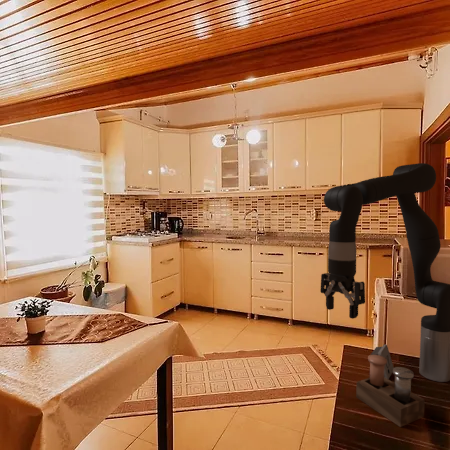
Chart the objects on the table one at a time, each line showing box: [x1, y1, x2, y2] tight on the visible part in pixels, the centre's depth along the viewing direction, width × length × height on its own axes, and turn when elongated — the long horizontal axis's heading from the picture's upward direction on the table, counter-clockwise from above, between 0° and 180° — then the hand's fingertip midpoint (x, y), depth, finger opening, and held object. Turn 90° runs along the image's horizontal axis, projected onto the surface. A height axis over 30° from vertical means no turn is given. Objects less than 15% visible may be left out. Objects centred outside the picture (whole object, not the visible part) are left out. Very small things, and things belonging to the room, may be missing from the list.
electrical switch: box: [370, 343, 394, 380], centre depth 115 cm, size 9×5×9 cm, turn 141°
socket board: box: [355, 377, 426, 428], centre depth 96 cm, size 10×15×5 cm, turn 25°
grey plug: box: [392, 366, 415, 402], centre depth 92 cm, size 5×5×8 cm
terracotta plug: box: [367, 354, 387, 386], centre depth 100 cm, size 5×5×8 cm
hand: (341, 313), depth 92 cm, fingers open, 8 cm apart
